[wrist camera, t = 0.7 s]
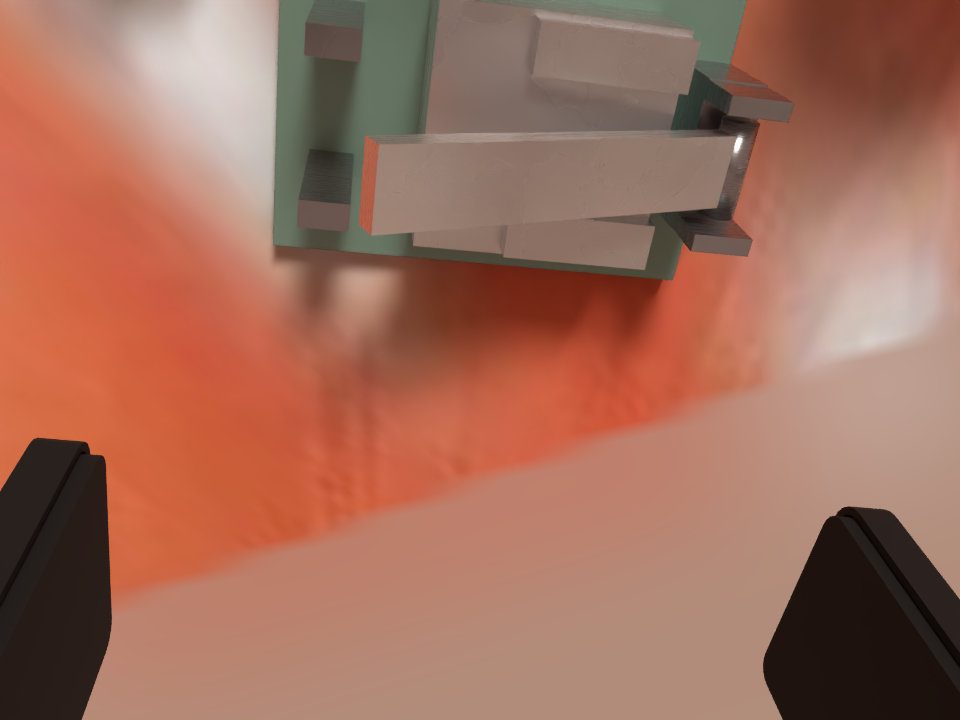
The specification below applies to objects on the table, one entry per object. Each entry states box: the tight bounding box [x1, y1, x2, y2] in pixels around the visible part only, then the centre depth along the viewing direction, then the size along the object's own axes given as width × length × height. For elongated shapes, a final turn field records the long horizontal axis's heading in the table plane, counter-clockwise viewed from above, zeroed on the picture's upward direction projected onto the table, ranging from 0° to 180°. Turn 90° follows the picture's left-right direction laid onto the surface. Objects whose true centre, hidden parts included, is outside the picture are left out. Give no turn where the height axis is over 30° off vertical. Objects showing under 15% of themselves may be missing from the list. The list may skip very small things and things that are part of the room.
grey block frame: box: [297, 0, 794, 270], centre depth 30 cm, size 15×8×6 cm, turn 82°
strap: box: [359, 115, 760, 236], centre depth 26 cm, size 14×3×1 cm, turn 84°
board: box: [273, 0, 747, 280], centre depth 32 cm, size 16×12×1 cm
